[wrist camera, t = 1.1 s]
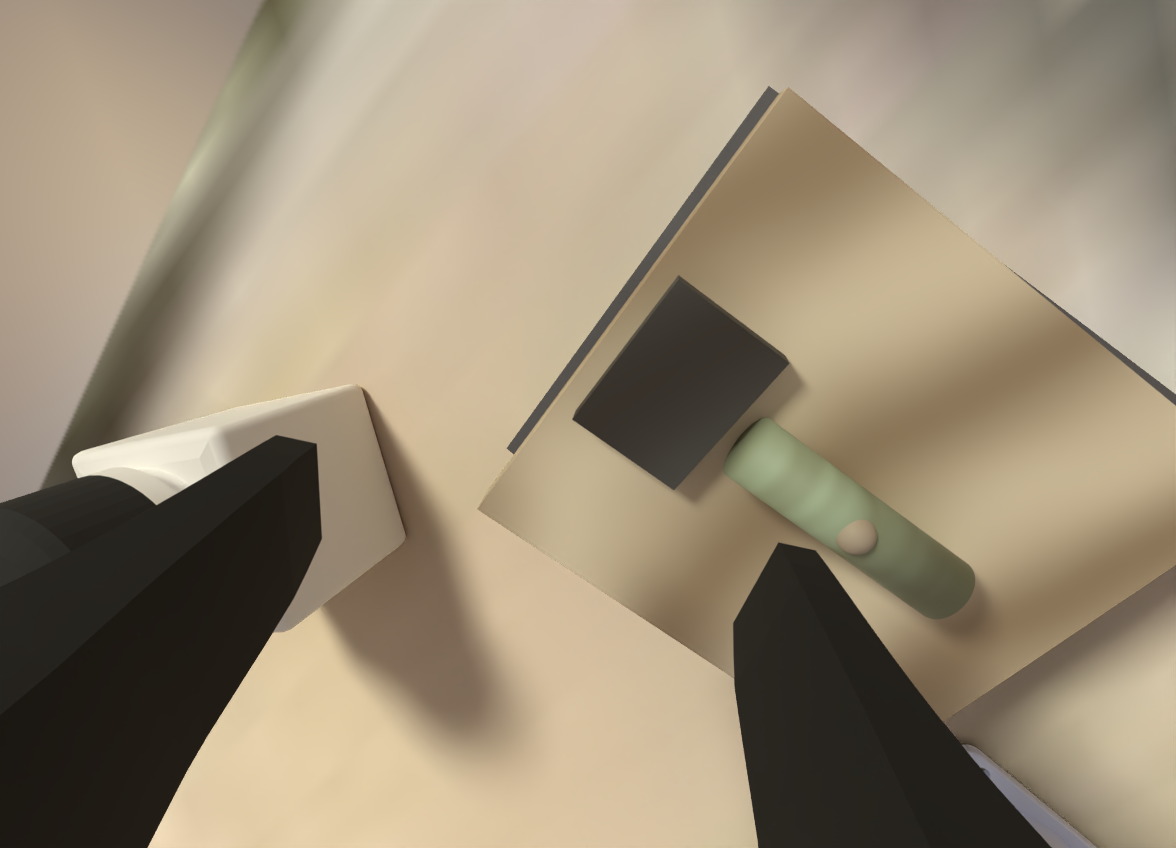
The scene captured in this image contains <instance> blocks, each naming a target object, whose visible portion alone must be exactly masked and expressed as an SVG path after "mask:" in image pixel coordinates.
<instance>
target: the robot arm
mask: <svg viewBox="0 0 1176 848" xmlns="http://www.w3.org/2000/svg"><path fill="white" fill-rule="evenodd" d="M321 540H322V529H321V510H320V492H319V474H318V456H317V444H316V443H312V442H307V441H302V440H298V439H293V438H288V437H284V436H279V435H275V436H273V437H272V438H270V439H268V440H266V441H265V442H263V443H261V444H259V445H258V446H256V447H254V448H253V449H251V450H249V451H248V452H246V453H244V454H242V455H241V456H239V457H237V458H236V459H234V460H232V461H231V462H229V463H227V464H226V465H224V466H222V467H221V468H219V469H217V470H216V471H214V472H212V473H211V474H209V475H207V476H205V477H204V478H202V479H200V480H199V481H197V482H195V483H194V484H192V485H190V486H189V487H187V488H185V489H184V490H182V491H180V492H178V493H177V494H175V495H173V496H171V497H170V498H168V499H166V500H164V501H163V502H161V503H159V504H157V505H156V506H154V507H152V508H150V509H149V510H147V511H145V512H143V513H142V514H140V515H138V516H136V517H135V518H133V519H131V520H129V521H128V522H126V523H124V524H122V525H120V526H118V527H116V528H114V529H112V530H111V531H109V532H107V533H105V534H103V535H101V536H99V537H97V538H95V539H94V540H92V541H90V542H88V543H86V544H84V545H82V546H80V547H78V548H76V549H75V550H73V551H71V552H69V553H67V554H65V555H63V556H61V557H59V558H57V559H56V560H54V561H52V562H50V563H48V564H46V565H44V566H42V567H40V568H38V569H36V570H34V571H32V572H30V573H28V574H26V575H24V576H22V577H20V578H18V579H16V580H14V581H12V582H9V583H7V584H5V585H3V586H1V587H0V848H147V847H148V846H149V844H150V842H151V840H152V838H153V836H154V834H155V832H156V830H157V828H158V826H159V824H160V822H161V820H162V818H163V816H164V814H165V813H166V811H167V809H168V807H169V805H170V803H171V801H172V799H173V797H174V795H175V793H176V791H177V789H178V787H179V785H180V783H181V781H182V780H183V778H184V776H185V774H186V772H187V770H188V768H189V767H190V765H191V763H192V761H193V760H194V758H195V756H196V755H197V753H198V751H199V749H200V748H201V746H202V744H203V743H204V741H205V739H206V737H207V736H208V734H209V733H210V731H211V730H212V728H213V726H214V725H215V723H216V722H217V720H218V718H219V717H220V715H221V714H222V712H223V711H224V709H225V707H226V706H227V704H228V703H229V701H230V700H231V698H232V696H233V695H234V693H235V692H236V690H237V689H238V687H239V685H240V684H241V682H242V681H243V679H244V677H245V676H246V674H247V673H248V671H249V670H250V668H251V666H252V665H253V663H254V662H255V660H256V659H257V657H258V655H259V654H260V652H261V651H262V649H263V648H264V646H265V644H266V643H267V641H268V640H269V638H270V636H271V635H272V633H273V632H274V630H275V628H276V627H277V625H278V624H279V622H280V620H281V619H282V617H283V616H284V614H285V612H286V611H287V609H288V607H289V606H290V604H291V602H292V601H293V599H294V597H295V595H296V593H297V591H298V589H299V587H300V585H301V583H302V581H303V579H304V577H305V575H306V573H307V571H308V568H309V566H310V564H311V562H312V560H313V557H314V555H315V553H316V551H317V549H318V547H319V544H320V542H321ZM733 658H734V683H735V692H736V700H737V707H738V714H739V721H740V728H741V734H742V741H743V748H744V754H745V761H746V767H747V774H748V780H749V787H750V793H751V800H752V806H753V813H754V819H755V826H756V832H757V839H758V847H759V848H1097V847H1096V846H1095V845H1094V844H1093V843H1091V842H1090V841H1089V840H1088V839H1086V838H1085V837H1084V836H1083V835H1082V834H1080V833H1079V832H1078V831H1077V830H1076V829H1074V828H1073V827H1072V826H1071V825H1070V824H1068V823H1067V822H1066V821H1065V820H1064V819H1062V818H1061V817H1060V816H1059V815H1058V814H1056V813H1055V812H1054V811H1053V810H1051V809H1050V808H1049V807H1048V806H1047V805H1045V804H1044V803H1043V802H1042V801H1041V800H1039V799H1038V798H1037V797H1036V796H1035V795H1033V794H1032V793H1031V792H1030V791H1029V790H1027V789H1026V788H1025V787H1024V786H1023V785H1021V784H1020V783H1019V782H1018V781H1016V780H1015V779H1014V778H1013V777H1012V776H1010V775H1009V774H1008V773H1007V772H1006V771H1004V770H1003V769H1002V768H1001V767H1000V766H998V765H997V764H996V763H995V762H994V761H992V760H991V759H990V758H989V757H987V756H986V755H985V754H984V753H983V752H981V751H980V750H979V749H978V748H976V747H974V746H971V745H967V744H965V745H961V744H960V742H959V741H958V740H957V739H956V737H955V736H954V735H953V734H952V732H951V731H950V730H949V729H948V728H947V726H946V725H945V724H944V723H943V721H942V720H941V719H940V718H939V716H938V715H937V714H936V713H935V711H934V710H933V709H932V708H931V706H930V705H929V704H928V702H927V701H926V700H925V699H924V697H923V696H922V695H921V693H920V692H919V691H918V689H917V688H916V687H915V686H914V684H913V683H912V682H911V680H910V679H909V678H908V676H907V675H906V674H905V672H904V671H903V670H902V668H901V667H900V666H899V664H898V663H897V662H896V660H895V659H894V658H893V656H892V655H891V653H890V652H889V651H888V649H887V648H886V647H885V645H884V644H883V642H882V641H881V640H880V638H879V637H878V636H877V634H876V633H875V631H874V630H873V629H872V627H871V626H870V624H869V623H868V622H867V620H866V619H865V617H864V616H863V615H862V613H861V612H860V610H859V609H858V608H857V606H856V605H855V603H854V602H853V601H852V599H851V598H850V596H849V595H848V594H847V592H846V591H845V589H844V588H843V587H842V585H841V584H840V582H839V581H838V580H837V578H836V577H835V575H834V574H833V573H832V571H831V570H830V569H829V567H828V566H827V564H826V563H825V562H824V560H823V559H822V558H821V557H820V555H819V554H818V553H817V551H816V550H812V549H807V548H802V547H798V546H793V545H788V544H784V543H779V542H778V544H777V546H776V547H775V549H774V551H773V553H772V555H771V556H770V558H769V560H768V562H767V563H766V565H765V567H764V569H763V571H762V572H761V574H760V576H759V578H758V580H757V581H756V583H755V585H754V587H753V588H752V590H751V592H750V594H749V596H748V597H747V599H746V601H745V603H744V604H743V606H742V608H741V610H740V612H739V613H738V615H737V617H736V619H735V621H734V622H733ZM981 768H985V770H984V771H983V770H982V769H981Z"/></svg>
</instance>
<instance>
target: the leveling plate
mask: <svg viewBox="0 0 1176 848" xmlns="http://www.w3.org/2000/svg"><path fill="white" fill-rule="evenodd" d="M478 510H479V511H481V512H482V513H484V514H485V515H487V516H488V517H490V518H492V519H493V520H495V521H496V522H498V523H499V524H501V525H502V526H504V527H505V528H507V529H508V530H510V531H511V532H513V533H514V534H516V535H517V536H519V537H520V538H522V539H523V540H525V541H526V542H528V543H529V544H531V545H533V546H534V547H536V548H537V549H539V550H540V551H542V552H543V553H545V554H546V555H548V556H549V557H551V558H552V559H554V560H555V561H557V562H558V563H560V564H561V565H563V566H564V567H566V568H567V569H569V570H570V571H572V572H574V573H575V574H577V575H578V576H580V577H581V578H583V579H584V580H586V581H587V582H589V583H590V584H592V585H593V586H595V587H596V588H598V589H599V590H601V591H602V592H604V593H605V594H607V595H608V596H610V597H611V598H613V599H615V600H616V601H618V602H619V603H621V604H622V605H624V606H625V607H627V608H628V609H630V610H631V611H633V612H634V613H636V614H637V615H639V616H640V617H642V618H643V619H645V620H646V621H648V622H649V623H651V624H652V625H654V626H656V627H657V628H659V629H660V630H662V631H663V632H665V633H666V634H668V635H669V636H671V637H672V638H674V639H675V640H677V641H678V642H680V643H681V644H683V645H684V646H686V647H687V648H689V649H690V650H692V651H693V652H695V653H697V654H698V655H700V656H701V657H703V658H704V659H706V660H707V661H709V662H710V663H712V664H713V665H715V666H716V667H718V668H719V669H721V670H722V671H724V672H725V673H727V674H728V675H730V676H731V677H733V678H734V658H733V622H734V621H735V619H736V617H737V615H738V613H739V612H740V610H741V608H742V606H743V604H744V603H745V601H746V599H747V597H748V596H749V594H750V592H751V590H752V588H753V587H754V585H755V583H756V581H757V580H758V578H759V576H760V574H761V572H762V571H763V569H764V567H765V565H766V563H767V562H768V560H769V558H770V556H771V555H772V553H773V551H774V549H775V547H776V546H777V544H778V542H779V543H784V544H788V545H793V546H798V547H802V548H807V549H812V550H816V551H817V553H818V554H819V555H820V557H821V558H822V559H823V560H824V562H825V563H826V564H827V566H828V567H829V569H830V570H831V571H832V573H833V574H834V575H835V577H836V578H837V580H838V581H839V582H840V584H841V585H842V587H843V588H844V589H845V591H846V592H847V594H848V595H849V596H850V598H851V599H852V601H853V602H854V603H855V605H856V606H857V608H858V609H859V610H860V612H861V613H862V615H863V616H864V617H865V619H866V620H867V622H868V623H869V624H870V626H871V627H872V629H873V630H874V631H875V633H876V634H877V636H878V637H879V638H880V640H881V641H882V642H883V644H884V645H885V647H886V648H887V649H888V651H889V652H890V653H891V655H892V656H893V658H894V659H895V660H896V662H897V663H898V664H899V666H900V667H901V668H902V670H903V671H904V672H905V674H906V675H907V676H908V678H909V679H910V680H911V682H912V683H913V684H914V686H915V687H916V688H917V689H918V691H919V692H920V693H921V695H922V696H923V697H924V699H925V700H926V701H927V702H928V704H929V705H930V706H931V708H932V709H933V710H934V711H935V713H936V714H937V715H938V716H939V718H940V719H941V720H942V721H943V722H944V721H945V720H947V719H948V718H950V717H951V716H953V715H954V714H956V713H957V712H959V711H960V710H962V709H963V708H965V707H966V706H968V705H969V704H970V703H972V702H973V701H975V700H976V699H978V698H979V697H981V696H982V695H984V694H985V693H987V692H988V691H990V690H991V689H993V688H994V687H996V686H997V685H999V684H1000V683H1002V682H1003V681H1005V680H1006V679H1008V678H1009V677H1011V676H1012V675H1014V674H1015V673H1016V672H1018V671H1019V670H1021V669H1022V668H1024V667H1025V666H1027V665H1028V664H1030V663H1031V662H1033V661H1034V660H1036V659H1037V658H1039V657H1040V656H1042V655H1043V654H1045V653H1046V652H1048V651H1049V650H1051V649H1052V648H1054V647H1055V646H1057V645H1058V644H1060V643H1061V642H1063V641H1064V640H1065V639H1067V638H1068V637H1070V636H1071V635H1073V634H1074V633H1076V632H1077V631H1079V630H1080V629H1082V628H1083V627H1085V626H1086V625H1088V624H1089V623H1091V622H1092V621H1094V620H1095V619H1097V618H1098V617H1100V616H1101V615H1103V614H1104V613H1106V612H1107V611H1109V610H1110V609H1111V608H1113V607H1114V606H1116V605H1117V604H1119V603H1120V602H1122V601H1123V600H1125V599H1126V598H1128V597H1129V596H1131V595H1132V594H1134V593H1135V592H1137V591H1138V590H1140V589H1141V588H1143V587H1144V586H1146V585H1147V584H1149V583H1150V582H1152V581H1153V580H1155V579H1156V578H1158V577H1159V576H1160V575H1162V574H1163V573H1165V572H1166V571H1168V570H1169V569H1171V568H1172V567H1174V566H1175V565H1176V406H1175V405H1174V404H1173V403H1172V402H1170V401H1169V400H1168V399H1167V398H1166V397H1164V396H1163V395H1162V394H1161V393H1160V392H1158V391H1157V390H1156V389H1155V388H1153V387H1152V386H1151V385H1150V384H1149V383H1147V382H1146V381H1145V380H1144V379H1143V378H1141V377H1140V376H1139V375H1138V374H1136V373H1135V372H1134V371H1133V370H1132V369H1130V368H1129V367H1128V366H1127V365H1126V364H1124V363H1123V362H1122V361H1121V360H1119V359H1118V358H1117V357H1116V356H1115V355H1113V354H1112V353H1111V352H1110V351H1108V350H1107V349H1106V348H1105V347H1104V346H1102V345H1101V344H1100V343H1099V342H1098V341H1096V340H1095V339H1094V338H1093V337H1091V336H1090V335H1089V334H1088V333H1087V332H1085V331H1084V330H1083V329H1082V328H1081V327H1079V326H1078V325H1077V324H1076V323H1074V322H1073V321H1072V320H1071V319H1070V318H1068V317H1067V316H1066V315H1065V314H1063V313H1062V312H1061V311H1060V310H1059V309H1057V308H1056V307H1055V306H1054V305H1053V304H1051V303H1050V302H1049V301H1048V300H1046V299H1045V298H1044V297H1043V296H1042V295H1040V294H1039V293H1038V292H1037V291H1036V290H1034V289H1033V288H1032V287H1031V286H1029V285H1028V284H1027V283H1026V282H1025V281H1023V280H1022V279H1021V278H1020V277H1019V276H1017V275H1016V274H1015V273H1014V272H1012V271H1011V270H1010V269H1009V268H1008V267H1006V266H1005V265H1004V264H1003V263H1001V262H1000V261H999V260H998V259H997V258H995V257H994V256H993V255H992V254H991V253H989V252H988V251H987V250H986V249H984V248H983V247H982V246H981V245H980V244H978V243H977V242H976V241H975V240H974V239H972V238H971V237H970V236H969V235H967V234H966V233H965V232H964V231H963V230H961V229H960V228H959V227H958V226H957V225H955V224H954V223H953V222H952V221H950V220H949V219H948V218H947V217H946V216H944V215H943V214H942V213H941V212H939V211H938V210H937V209H936V208H935V207H933V206H932V205H931V204H930V203H929V202H927V201H926V200H925V199H924V198H922V197H921V196H920V195H919V194H918V193H916V192H915V191H914V190H913V189H912V188H910V187H909V186H908V185H907V184H905V183H904V182H903V181H902V180H901V179H899V178H898V177H897V176H896V175H895V174H893V173H892V172H891V171H890V170H888V169H887V168H886V167H885V166H884V165H882V164H881V163H880V162H879V161H877V160H876V159H875V158H874V157H873V156H871V155H870V154H869V153H868V152H867V151H865V150H864V149H863V148H862V147H860V146H859V145H858V144H857V143H856V142H854V141H853V140H852V139H851V138H850V137H848V136H847V135H846V134H845V133H843V132H842V131H841V130H840V129H839V128H837V127H836V126H835V125H834V124H832V123H831V122H830V121H829V120H828V119H826V118H825V117H824V116H823V115H822V114H820V113H819V112H818V111H817V110H815V109H814V108H813V107H812V106H811V105H809V104H808V103H807V102H806V101H805V100H803V99H802V98H801V97H800V96H798V95H797V94H796V93H795V92H794V91H792V90H791V89H790V88H789V87H788V88H787V89H785V90H784V91H782V92H781V93H779V94H778V96H777V97H776V98H775V100H774V101H773V102H772V104H771V105H770V106H769V108H768V109H767V111H766V112H765V113H764V115H763V116H762V117H761V119H760V120H759V121H758V123H757V124H756V126H755V127H754V128H753V130H752V131H751V132H750V134H749V135H748V136H747V138H746V139H745V141H744V142H743V143H742V145H741V146H740V147H739V149H738V150H737V151H736V153H735V154H734V156H733V157H732V158H731V160H730V161H729V162H728V164H727V165H726V166H725V168H724V169H723V170H722V172H721V173H720V175H719V176H718V177H717V179H716V180H715V181H714V183H713V184H712V185H711V187H710V188H709V190H708V191H707V192H706V194H705V195H704V196H703V198H702V199H701V200H700V202H699V203H698V205H697V206H696V207H695V209H694V210H693V211H692V213H691V214H690V215H689V217H688V218H687V220H686V221H685V222H684V224H683V225H682V226H681V228H680V229H679V230H678V232H677V233H676V235H675V236H674V237H673V239H672V240H671V241H670V243H669V244H668V245H667V247H666V248H665V250H664V251H663V252H662V254H661V255H660V256H659V258H658V259H657V260H656V262H655V263H654V264H653V266H652V267H651V269H650V270H649V271H648V273H647V274H646V275H645V277H644V278H643V279H642V281H641V282H640V284H639V285H638V286H637V288H636V289H635V290H634V292H633V293H632V294H631V296H630V297H629V299H628V300H627V301H626V303H625V304H624V305H623V307H622V308H621V309H620V311H619V312H618V314H617V315H616V316H615V318H614V319H613V320H612V322H611V323H610V324H609V326H608V327H607V329H606V330H605V331H604V333H603V334H602V335H601V337H600V338H599V339H598V341H597V342H596V344H595V345H594V346H593V348H592V349H591V350H590V352H589V353H588V354H587V356H586V357H585V358H584V360H583V361H582V363H581V364H580V365H579V367H578V368H577V369H576V371H575V372H574V373H573V375H572V376H571V378H570V379H569V380H568V382H567V383H566V384H565V386H564V387H563V388H562V390H561V391H560V393H559V394H558V395H557V397H556V398H555V399H554V401H553V402H552V403H551V405H550V406H549V408H548V409H547V410H546V412H545V413H544V414H543V416H542V417H541V418H540V420H539V421H538V423H537V424H536V425H535V427H534V428H533V429H532V431H531V432H530V433H529V435H528V436H527V438H526V439H525V440H524V442H523V443H522V444H521V446H520V447H519V448H518V450H517V451H516V452H515V454H514V455H513V457H512V458H511V459H510V461H509V462H508V463H507V465H506V466H505V467H504V469H503V470H502V472H501V473H500V474H499V476H498V477H497V478H496V480H495V481H494V482H493V484H492V485H491V487H490V488H489V490H488V491H487V493H486V495H485V497H484V498H483V500H482V502H481V504H480V505H479V507H478Z"/></svg>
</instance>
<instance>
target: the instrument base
mask: <svg viewBox="0 0 1176 848" xmlns="http://www.w3.org/2000/svg"><path fill="white" fill-rule="evenodd" d="M778 94H779V93H777V92H776V91H775V90H773V89H772V88H771V87H768V88H767V89H766V91H765V92H764V93H763V95H762V96H761V98H760V99H759V100H758V102H757V103H756V104H755V106H754V107H753V109H752V110H751V111H750V113H749V114H748V116H747V117H746V118H745V120H744V121H743V122H742V124H741V125H740V127H739V128H738V129H737V131H736V132H735V134H734V135H733V136H732V138H731V139H730V140H729V142H728V143H727V145H726V146H725V147H724V149H723V150H722V151H721V153H720V154H719V156H718V157H717V158H716V160H715V161H714V163H713V164H712V165H711V167H710V168H709V169H708V171H707V172H706V174H705V175H704V176H703V178H702V179H701V181H700V182H699V183H698V185H697V186H696V187H695V189H694V190H693V192H692V193H691V194H690V196H689V197H688V198H687V200H686V201H685V203H684V204H683V205H682V207H681V208H680V210H679V211H678V212H677V214H676V215H675V216H674V218H673V219H672V221H671V222H670V223H669V225H668V226H667V228H666V229H665V230H664V232H663V233H662V234H661V236H660V237H659V239H658V240H657V241H656V243H655V244H654V245H653V247H652V248H651V250H650V251H649V252H648V254H647V255H646V257H645V258H644V259H643V261H642V262H641V263H640V265H639V266H638V268H637V269H636V270H635V272H634V273H633V275H632V276H631V277H630V279H629V280H628V281H627V283H626V284H625V286H624V287H623V288H622V290H621V291H620V292H619V294H618V295H617V297H616V298H615V299H614V301H613V302H612V304H611V305H610V306H609V308H608V309H607V310H606V312H605V313H604V315H603V316H602V317H601V319H600V320H599V322H598V323H597V324H596V326H595V327H594V328H593V330H592V331H591V333H590V334H589V335H588V337H587V338H586V339H585V341H584V342H583V344H582V345H581V346H580V348H579V349H578V351H577V352H576V353H575V355H574V356H573V357H572V359H571V360H570V362H569V363H568V364H567V366H566V367H565V369H564V370H563V371H562V373H561V374H560V375H559V377H558V378H557V380H556V381H555V382H554V384H553V385H552V386H551V388H550V389H549V391H548V392H547V393H546V395H545V396H544V398H543V399H542V400H541V402H540V403H539V404H538V406H537V407H536V409H535V410H534V411H533V413H532V414H531V416H530V417H529V418H528V420H527V421H526V422H525V424H524V425H523V427H522V428H521V429H520V431H519V432H518V433H517V435H516V436H515V438H514V439H513V440H512V442H511V443H510V445H509V446H508V447H507V449H508V450H509V451H510V452H512V453H513V454H515V452H516V451H517V450H518V448H519V447H520V446H521V444H522V443H523V442H524V440H525V439H526V438H527V436H528V435H529V433H530V432H531V431H532V429H533V428H534V427H535V425H536V424H537V423H538V421H539V420H540V418H541V417H542V416H543V414H544V413H545V412H546V410H547V409H548V408H549V406H550V405H551V403H552V402H553V401H554V399H555V398H556V397H557V395H558V394H559V393H560V391H561V390H562V388H563V387H564V386H565V384H566V383H567V382H568V380H569V379H570V378H571V376H572V375H573V373H574V372H575V371H576V369H577V368H578V367H579V365H580V364H581V363H582V361H583V360H584V358H585V357H586V356H587V354H588V353H589V352H590V350H591V349H592V348H593V346H594V345H595V344H596V342H597V341H598V339H599V338H600V337H601V335H602V334H603V333H604V331H605V330H606V329H607V327H608V326H609V324H610V323H611V322H612V320H613V319H614V318H615V316H616V315H617V314H618V312H619V311H620V309H621V308H622V307H623V305H624V304H625V303H626V301H627V300H628V299H629V297H630V296H631V294H632V293H633V292H634V290H635V289H636V288H637V286H638V285H639V284H640V282H641V281H642V279H643V278H644V277H645V275H646V274H647V273H648V271H649V270H650V269H651V267H652V266H653V264H654V263H655V262H656V260H657V259H658V258H659V256H660V255H661V254H662V252H663V251H664V250H665V248H666V247H667V245H668V244H669V243H670V241H671V240H672V239H673V237H674V236H675V235H676V233H677V232H678V230H679V229H680V228H681V226H682V225H683V224H684V222H685V221H686V220H687V218H688V217H689V215H690V214H691V213H692V211H693V210H694V209H695V207H696V206H697V205H698V203H699V202H700V200H701V199H702V198H703V196H704V195H705V194H706V192H707V191H708V190H709V188H710V187H711V185H712V184H713V183H714V181H715V180H716V179H717V177H718V176H719V175H720V173H721V172H722V170H723V169H724V168H725V166H726V165H727V164H728V162H729V161H730V160H731V158H732V157H733V156H734V154H735V153H736V151H737V150H738V149H739V147H740V146H741V145H742V143H743V142H744V141H745V139H746V138H747V136H748V135H749V134H750V132H751V131H752V130H753V128H754V127H755V126H756V124H757V123H758V121H759V120H760V119H761V117H762V116H763V115H764V113H765V112H766V111H767V109H768V108H769V106H770V105H771V104H772V102H773V101H774V100H775V98H776V97H777V96H778ZM1001 263H1002V262H1001ZM1005 266H1006V265H1005ZM1006 267H1007V266H1006ZM1010 270H1011V269H1010ZM1011 271H1012V270H1011ZM1012 272H1013V271H1012ZM1014 273H1015V272H1014ZM1015 274H1016V273H1015ZM1016 275H1017V274H1016ZM1017 276H1019V275H1017ZM1019 277H1020V276H1019ZM1020 278H1021V277H1020ZM1021 279H1022V280H1023V281H1025V280H1024V279H1023V278H1021ZM1025 282H1026V283H1027V284H1028V285H1029V286H1031V287H1032V288H1033V289H1034V290H1036V291H1037V292H1038V293H1039V294H1040V295H1042V296H1043V297H1044V298H1045V299H1046V300H1048V301H1049V302H1050V303H1051V304H1053V305H1054V306H1055V307H1056V308H1057V309H1059V310H1060V311H1061V312H1062V313H1063V314H1065V315H1066V316H1067V317H1068V318H1070V319H1071V320H1072V321H1073V322H1074V323H1076V324H1077V325H1078V326H1079V327H1081V328H1082V329H1083V330H1084V331H1085V332H1087V333H1088V334H1089V335H1090V336H1091V337H1093V338H1094V339H1095V340H1096V341H1098V342H1099V343H1100V344H1101V345H1102V346H1104V347H1105V348H1106V349H1107V350H1108V351H1110V352H1111V353H1112V354H1113V355H1115V356H1116V357H1117V358H1118V359H1119V360H1121V361H1122V362H1123V363H1124V364H1126V365H1127V366H1128V367H1129V368H1130V369H1132V370H1133V371H1134V372H1135V373H1136V374H1138V375H1139V376H1140V377H1141V378H1143V379H1144V380H1145V381H1146V382H1147V383H1149V384H1150V385H1151V386H1152V387H1153V388H1155V389H1156V390H1157V391H1158V392H1160V393H1161V394H1162V395H1163V396H1164V397H1166V398H1167V399H1168V400H1169V401H1170V402H1172V403H1173V404H1174V405H1175V406H1176V394H1174V393H1173V392H1172V391H1170V390H1169V389H1168V388H1166V387H1165V386H1164V385H1162V384H1161V383H1160V382H1159V381H1157V380H1156V379H1155V378H1153V377H1152V376H1151V375H1149V374H1148V373H1147V372H1145V371H1144V370H1143V369H1141V368H1140V367H1139V366H1137V365H1136V364H1135V363H1133V362H1132V361H1131V360H1130V359H1128V358H1127V357H1126V356H1124V355H1123V354H1122V353H1120V352H1119V351H1118V350H1116V349H1115V348H1114V347H1112V346H1111V345H1110V344H1108V343H1107V342H1106V341H1104V340H1103V339H1102V338H1100V337H1099V336H1098V335H1097V334H1095V333H1094V332H1093V331H1091V330H1090V329H1089V328H1087V327H1086V326H1085V325H1083V324H1082V323H1081V322H1079V321H1078V320H1077V319H1075V318H1074V317H1073V316H1071V315H1070V314H1069V313H1068V312H1066V311H1065V310H1064V309H1062V308H1061V307H1060V306H1058V305H1057V304H1056V303H1054V302H1053V301H1052V300H1050V299H1049V298H1048V297H1046V296H1045V295H1044V294H1042V293H1041V292H1040V291H1038V290H1037V289H1036V288H1035V287H1033V286H1032V285H1031V284H1029V283H1028V282H1027V281H1025Z"/></svg>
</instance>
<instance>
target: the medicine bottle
mask: <svg viewBox="0 0 1176 848" xmlns="http://www.w3.org/2000/svg"><path fill="white" fill-rule="evenodd" d="M275 435H279V436H284V437H288V438H293V439H298V440H302V441H307V442H312V443H316V444H317V456H318V474H319V492H320V510H321V529H322V540H321V542H320V544H319V547H318V549H317V551H316V553H315V555H314V557H313V560H312V562H311V564H310V566H309V568H308V571H307V573H306V575H305V577H304V579H303V581H302V583H301V585H300V587H299V589H298V591H297V593H296V595H295V597H294V599H293V601H292V602H291V604H290V606H289V607H288V609H287V611H286V612H285V614H284V616H283V617H282V619H281V620H280V622H279V624H278V625H277V627H276V628H275V630H274V632H285V631H287V630H290V629H292V628H293V627H294V626H296V625H297V624H298V623H300V622H301V621H302V620H304V619H305V618H306V617H308V616H309V615H310V614H311V613H313V612H314V611H315V610H317V609H318V608H319V607H321V606H322V605H323V604H325V603H326V602H327V601H328V600H330V599H331V598H332V597H334V596H335V595H336V594H338V593H339V592H340V591H342V590H343V589H344V588H345V587H347V586H348V585H349V584H351V583H352V582H353V581H355V580H356V579H357V578H359V577H360V576H361V575H362V574H364V573H365V572H366V571H368V570H369V569H370V568H372V567H373V566H374V565H376V564H377V563H378V562H379V561H381V560H382V559H383V558H385V557H386V556H387V555H389V554H390V553H391V552H393V551H394V550H395V549H397V548H398V547H399V546H400V545H402V544H403V542H404V541H405V539H406V534H405V531H404V528H403V524H402V521H401V518H400V514H399V511H398V508H397V504H396V501H395V498H394V494H393V491H392V488H391V484H390V481H389V478H388V474H387V471H386V468H385V464H384V461H383V458H382V454H381V451H380V448H379V444H378V441H377V438H376V434H375V431H374V428H373V424H372V421H371V418H370V415H369V411H368V408H367V405H366V401H365V398H364V395H363V391H362V389H361V387H359V386H358V385H353V384H349V385H344V386H339V387H334V388H329V389H324V390H319V391H314V392H309V393H304V394H299V395H294V396H290V397H285V398H280V399H275V400H270V401H265V402H260V403H255V404H250V405H245V406H240V407H235V408H231V409H228V410H224V411H221V412H217V413H214V414H210V415H207V416H203V417H200V418H196V419H193V420H189V421H186V422H182V423H179V424H175V425H172V426H168V427H165V428H161V429H158V430H154V431H151V432H147V433H144V434H140V435H137V436H133V437H130V438H126V439H123V440H119V441H116V442H112V443H109V444H105V445H102V446H98V447H95V448H91V449H88V450H84V451H81V452H79V453H78V454H76V455H75V456H74V457H73V460H72V465H73V467H74V470H75V472H76V475H77V477H78V478H77V479H74V480H71V481H68V482H65V483H62V484H58V485H55V486H52V487H49V488H46V489H43V490H40V491H37V492H34V493H31V494H28V495H25V496H22V497H18V498H15V499H12V500H9V501H6V502H3V503H0V587H1V586H3V585H5V584H7V583H9V582H12V581H14V580H16V579H18V578H20V577H22V576H24V575H26V574H28V573H30V572H32V571H34V570H36V569H38V568H40V567H42V566H44V565H46V564H48V563H50V562H52V561H54V560H56V559H57V558H59V557H61V556H63V555H65V554H67V553H69V552H71V551H73V550H75V549H76V548H78V547H80V546H82V545H84V544H86V543H88V542H90V541H92V540H94V539H95V538H97V537H99V536H101V535H103V534H105V533H107V532H109V531H111V530H112V529H114V528H116V527H118V526H120V525H122V524H124V523H126V522H128V521H129V520H131V519H133V518H135V517H136V516H138V515H140V514H142V513H143V512H145V511H147V510H149V509H150V508H152V507H154V506H156V505H157V504H159V503H161V502H163V501H164V500H166V499H168V498H170V497H171V496H173V495H175V494H177V493H178V492H180V491H182V490H184V489H185V488H187V487H189V486H190V485H192V484H194V483H195V482H197V481H199V480H200V479H202V478H204V477H205V476H207V475H209V474H211V473H212V472H214V471H216V470H217V469H219V468H221V467H222V466H224V465H226V464H227V463H229V462H231V461H232V460H234V459H236V458H237V457H239V456H241V455H242V454H244V453H246V452H248V451H249V450H251V449H253V448H254V447H256V446H258V445H259V444H261V443H263V442H265V441H266V440H268V439H270V438H272V437H273V436H275Z"/></svg>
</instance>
